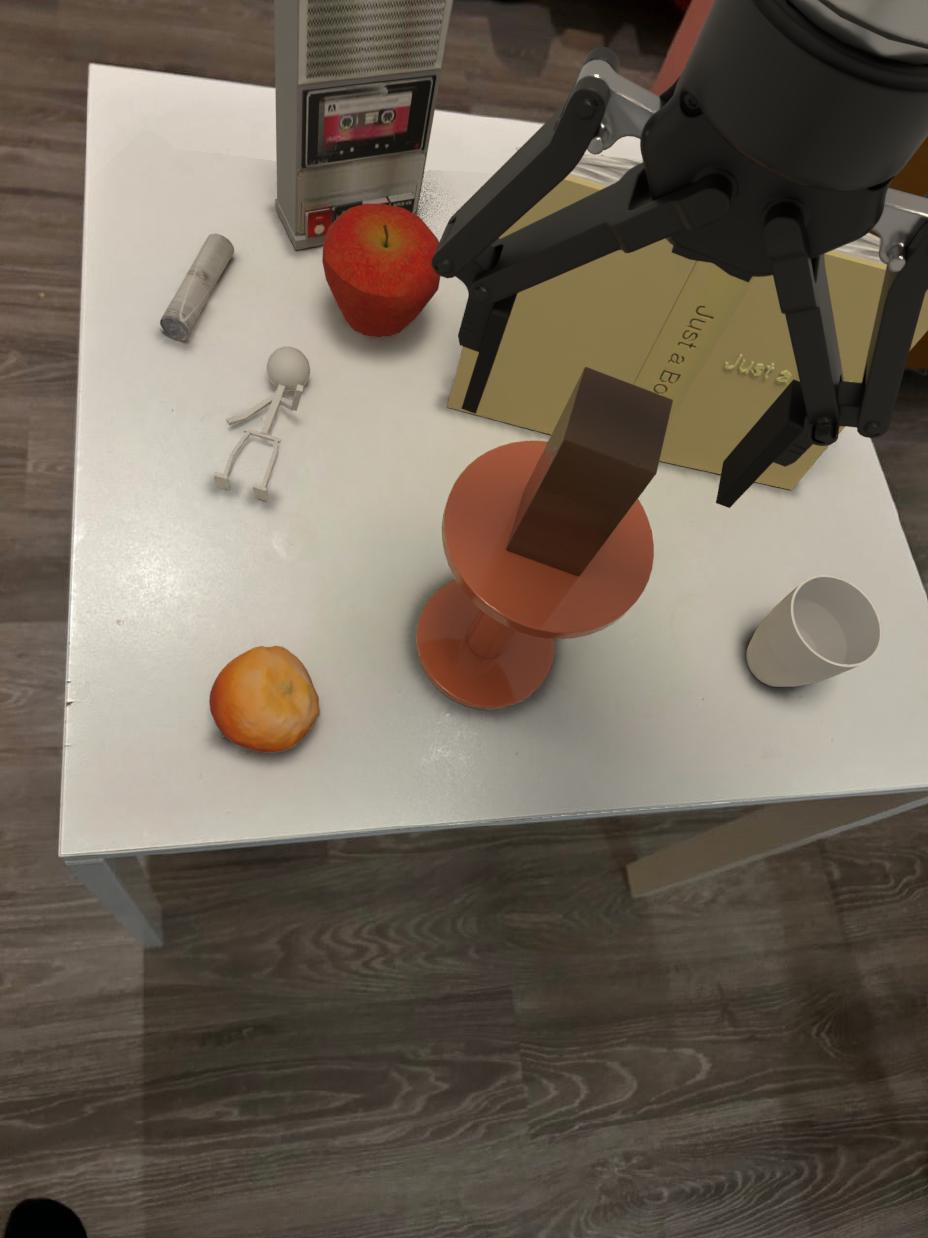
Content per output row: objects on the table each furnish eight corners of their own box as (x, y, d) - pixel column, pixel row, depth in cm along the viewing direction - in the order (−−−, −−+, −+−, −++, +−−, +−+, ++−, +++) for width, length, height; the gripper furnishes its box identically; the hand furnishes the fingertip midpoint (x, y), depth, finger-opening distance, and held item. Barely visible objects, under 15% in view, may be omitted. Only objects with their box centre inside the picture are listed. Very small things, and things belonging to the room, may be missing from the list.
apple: (360, 383, 79) (372, 289, 68) (297, 306, 81) (298, 202, 70) (449, 340, 83) (474, 245, 72) (387, 267, 85) (402, 164, 74)
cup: (808, 628, 78) (876, 583, 69) (815, 709, 75) (888, 673, 66) (728, 614, 77) (787, 567, 68) (732, 696, 73) (794, 658, 64)
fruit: (186, 662, 63) (237, 627, 58) (276, 675, 69) (330, 644, 63) (185, 765, 60) (238, 738, 55) (279, 770, 66) (336, 746, 60)
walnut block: (579, 577, 52) (656, 473, 41) (505, 550, 51) (563, 439, 41) (596, 513, 54) (674, 399, 43) (525, 487, 54) (585, 365, 43)
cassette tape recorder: (296, 253, 83) (299, -12, 61) (275, 210, 85) (270, -64, 62) (419, 230, 88) (464, -24, 65) (396, 189, 90) (433, -72, 67)
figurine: (196, 453, 67) (255, 310, 72) (205, 488, 72) (259, 353, 78) (270, 476, 67) (324, 332, 72) (273, 508, 73) (323, 373, 78)
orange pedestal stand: (540, 744, 68) (631, 663, 50) (381, 688, 67) (415, 586, 49) (577, 601, 74) (671, 483, 56) (431, 548, 73) (479, 411, 55)
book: (444, 414, 79) (511, 169, 58) (453, 361, 83) (519, 114, 63) (791, 498, 83) (966, 298, 63) (783, 443, 88) (945, 239, 67)
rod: (208, 249, 81) (206, 227, 79) (235, 259, 82) (233, 237, 79) (160, 336, 76) (155, 315, 74) (188, 346, 77) (185, 325, 74)
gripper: (1258, 70, 25) (833, 465, 44) (480, -260, 23) (392, 298, 42) (1300, 233, 21) (821, 583, 40) (398, -140, 20) (342, 407, 39)
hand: (602, 438), depth 41 cm, fingers open, 13 cm apart
